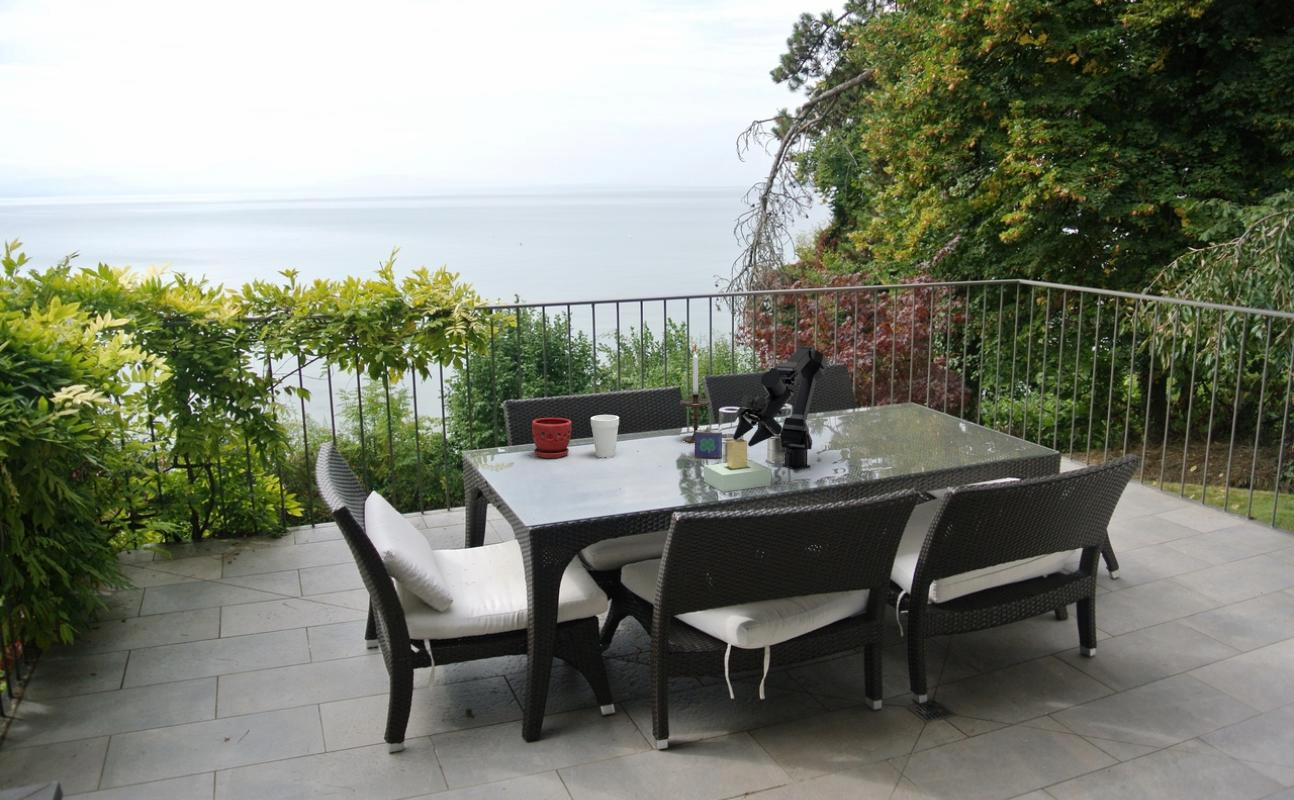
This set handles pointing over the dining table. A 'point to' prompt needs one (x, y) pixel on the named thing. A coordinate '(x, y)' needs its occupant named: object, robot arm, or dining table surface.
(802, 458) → the robot arm
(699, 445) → the flask
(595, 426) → the foam cup
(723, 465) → the coin box
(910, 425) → the dining table surface
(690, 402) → the candlestick
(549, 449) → the plant pot
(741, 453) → the tan rectangular block
